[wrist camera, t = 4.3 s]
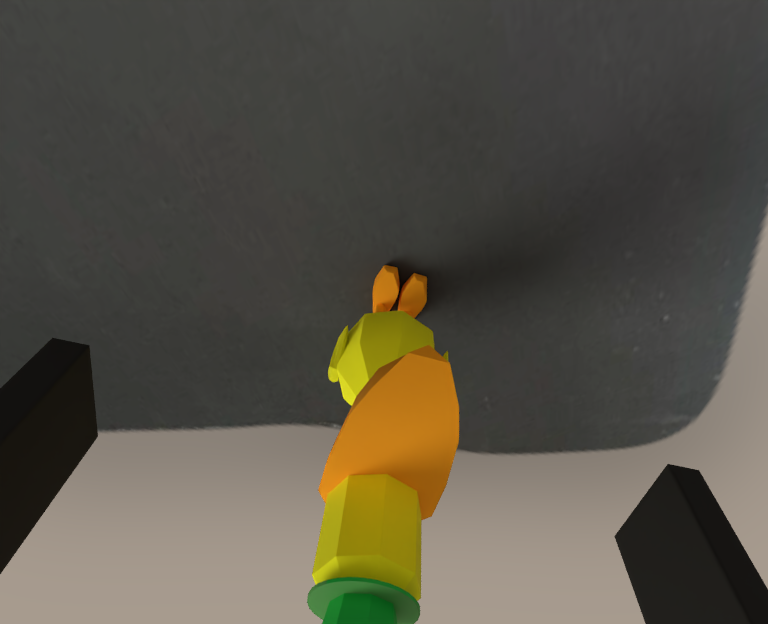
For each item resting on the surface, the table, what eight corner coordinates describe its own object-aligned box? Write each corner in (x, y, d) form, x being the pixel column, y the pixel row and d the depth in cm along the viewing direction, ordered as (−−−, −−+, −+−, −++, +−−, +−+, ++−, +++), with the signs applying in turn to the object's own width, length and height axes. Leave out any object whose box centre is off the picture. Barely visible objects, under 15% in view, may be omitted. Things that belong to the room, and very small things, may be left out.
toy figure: (375, 187, 17) (299, 492, 7) (481, 216, 17) (563, 552, 7) (332, 351, 20) (240, 715, 10) (421, 373, 21) (418, 749, 11)
